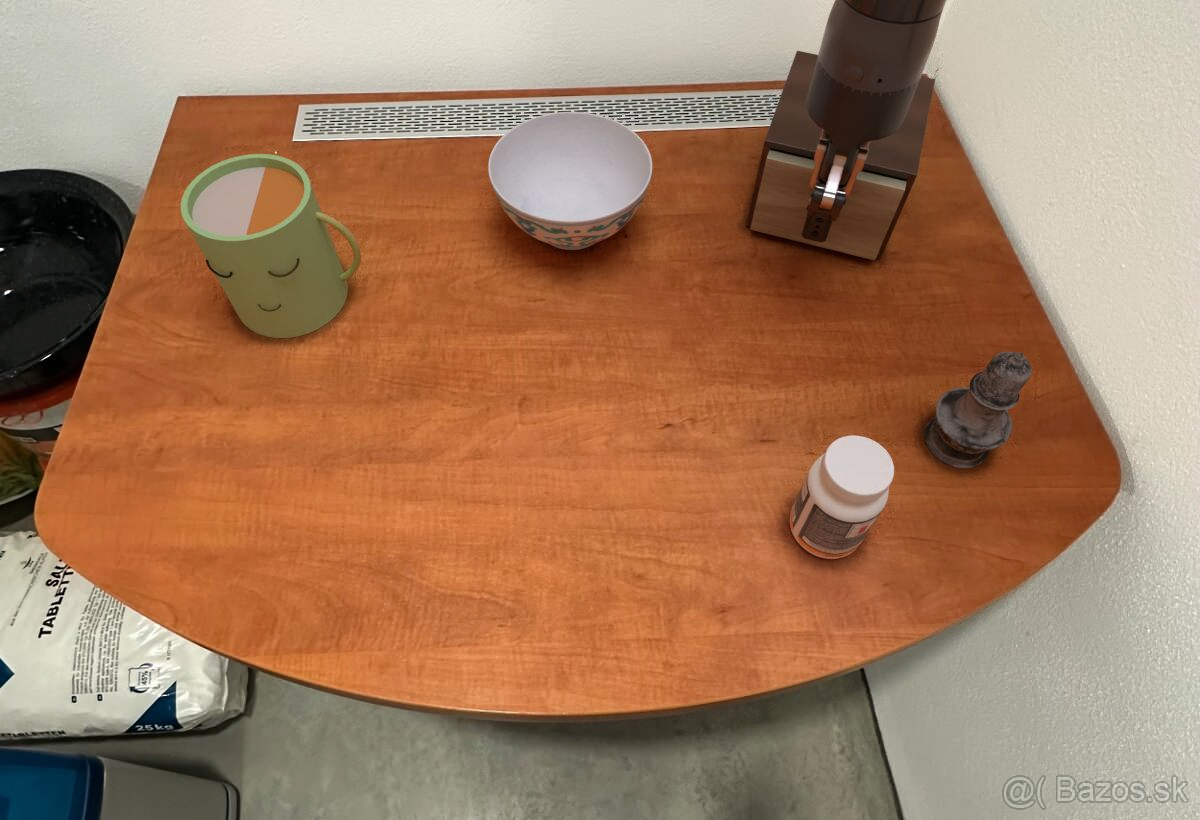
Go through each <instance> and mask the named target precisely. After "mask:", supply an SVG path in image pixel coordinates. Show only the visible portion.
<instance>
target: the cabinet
mask: <svg viewBox="0 0 1200 820" xmlns="http://www.w3.org/2000/svg"><path fill="white" fill-rule="evenodd" d="M817 58H818V54H817V53H812V52H811V53H810V52H805V51H802V50H796V52H795V54H794V58H793V59H792V60H793V61H792V63H791V66H790V68H789V71H788V75H787V78H786V79H785V83H784V86H783V88H782V91H781V93H780V97H779V100H778V103H777V105H776V107H775V110H774V113H773V115H772V116H773V117H772V119H771V122H770V125H769V127H768V130H767V134H766V136H765V137H764V142H763V147H762V152H761V155H760V158H759V159H760V160H759V164H758V169H757V172H756V173H757V174H756V177H755V182H754V187H753V190H752V194H751V195H752V196H751V200H750V204H749V209H748V214H747V217H746V222H745V227H747V228H751V224H752V219H753V215H754V211H755V206H756V202H757V198H758V193H759V189H760V185H761V180H762V176H763V172H764V167H765V163H766V159H767V156H768V153H769V150H772V151H776V152H777V150H781V151H786V152H790V153H794V154H799V155H803V156H807V157H812V158H814V156H815V152H816V149H817V146H818V142H819V139H820V136H821V132H822V129H821V128H820V127H819V126H818V125H816V124H815V123H814V121H813V120H812V119H811V117H810V116H809V113H808V111H807V106H806V101H807V96H808V92H809V88H810V85H811V81H812V77H813V73H814V69H815V65H816V62H817ZM935 83H936V79H935V78H933V77H926V76H923V75H922V76H921V78H920V81H919V83H918V86H917V89H916V91H915V94H914V96H913V99H912V102H911V104H910V107H909V109H908V112H907V115H906V117H905V120H904V122H903V124H902V125H901V127H900V128H899V129H898V130H897V131H896V132H895V133H893V134H892V135H890V136H888V137H886V138H883V139H880V140H874V141H870V144H869V147H868V148H869V152H868V155H867V158H866V161H865V164H864V167H863V169H864V170H868V171H873V172H877V173H881V174H886V175H890V176H894V177H899V178H898V180H902V181H906V187H905V191H904V194H903V196H902V198H901V201H900V203H899V205H898V208H897V210H896V212H895V215H894V217H893V219H892V222H891V224H890V226H889V229H888V231H887V233H886V236H885V238H884V240H883V243H882V245H881V247H880V250H879V252H878V254H877V257H876V259H877V260H881V259H882V257H883V254H884V252H885V250H886V247H887V245H888V243H889V240H890V238H891V236H892V234H893V231H894V229H895V227H896V224H897V222H898V220H899V218H900V216H901V214H902V211H903V208H904V206H905V204H906V202H907V199H908V197H909V194H910V193H911V191H912V188H913V186H914V183H915V181H916V179H917V176H918V172H919V167H920V162H921V157H922V152H923V146H924V142H925V141H924V140H925V137H926V136H925V135H926V130H927V124H928V119H929V115H930V109H931V105H932V98H933V94H934V89H935ZM876 259H875V260H876Z"/></svg>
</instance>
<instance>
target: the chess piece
mask: <svg viewBox="0 0 1200 820" xmlns="http://www.w3.org/2000/svg"><path fill="white" fill-rule="evenodd" d="M1032 373H1033V368H1032V365H1031V363H1030V361H1029V360H1028V359H1027V358H1026V356H1025V354H1024V353H1023V352H1015V351H1002V352H999V353H997V354H995V355H994V356H993V357H992V358H991V360H989V362H988V364H987V365H986V366H985V368H984V369H983V370H982V371H980V372H977V373H976V374H974V375H973V376H972V377H971V378H970V380H969V383H968V385H969V387H965V386H964V387H955V388H952V389H949V390H948V391H946V392H944V393H943V394H942V395H941V396H940V397H939V399H938V400H937V402H936V406H935V416H934V417H933V418H931V419H930V420H929V421H928V422H927V424H926V425H925V429H924V433H923V434H924V435H923V436H924V442H925V445H926V446H927V448H928V450H929V452H930V453H931V454H932V455H933V456H934V457H935V458H936V459H937V460H939V461H940V462H942V463H944V464H945V465H947V466H949V467H953V468H956V469H972V468H976V467H978V466H979V465H981V464H983V463H984V462H985V461H986V459H987V458H988V457H989V455H990V451H991V450H995V449H997V448H1000V447H1001V446H1002V445H1004V444H1005V443H1006V442H1007V441H1008V440H1009V438H1010V437H1011V434H1012V431H1013V423H1012V419H1011V415H1010V413H1009V411H1008V410H1011V409H1013V408H1014V407H1015V406H1016V405H1017V404H1018V403H1019V400H1020V392H1021V390H1022V389H1023V388H1024V386H1025V385H1026V384H1027V383H1028V381H1029V380H1030V379H1031V376H1032Z"/></svg>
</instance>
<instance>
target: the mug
mask: <svg viewBox="0 0 1200 820" xmlns="http://www.w3.org/2000/svg"><path fill="white" fill-rule="evenodd" d="M180 213H181V216H182V219H183V221H184V223H185V225H186V227H187V229H188V231H189V232H190V234H191V235H192V237H193V239H194V240H195V242H196V245H197V246H198V247H199V249H200V251H201V253H202V255H203V256H204V258H205V263H206V266H207V268H208V270H210V271H211V272H212V273H213V274H214V276H215V278H216V280H217V281H218V283H219V285H220V286H221V287H222V290H223V292H224V293H225V295H226V297H227V299H228V300H229V302H230V304H231V306H232V308H233V310H234V311H235V313H236V315H237V316H238V318H239V320H240V321H241V322H242V323H243V325H244V326H245V327H246V328H248V330H250V331H252V332H254V333H255V334H257V335H260V336H263V337H267V338H273V339H290V338H297V337H302V336H304V335H308V334H311V333H313V332H315V331H317V330H319V329H321V328H323V327H324V326H326V325H328V323H330V322H331V321H332V320H333V319H334V318H336V316H337V315H338V314H339V313H340V312H341V310H342V309H343V307H344V306H345V303H346V301H347V298H348V292H349V285H348V280H349V279H350V278H351V277H352V276H353V275H355V273H356V272H357V271H358V269H359V268H360V265H361V262H362V253H361V248H360V246H359V243H358V241H357V239H356V238H355V235H353V233H352V232H351V231H350V230H349V229H348V228H347V227H346V226H345V225H344V224H342V223H341V222H340V221H338V220H337V219H335V218H333V217H331V216H329V215H328V214H326V213H323V212H322V210H321V207H320V204H319V201H318V199H317V196H316V193H315V191H314V188H313V185H312V183H311V180H310V177H309V175H308V173H307V172H306V171H305V169H304V168H303V167H302V166H301V165H300V164H298V163H297V162H296V161H293V160H291V159H289V158H287V157H284V156H281V155H276V154H269V153H252V154H251V153H249V154H243V155H239V156H238V155H237V156H234V157H231V158H227V159H224V160H222V161H220V162H217V163H215V164H213V165H211V166H210V167H207V168H206V169H205V170H203V171H202V172H201V173H199V174H198V175H196V177H194V179H193V180H192V181H191V182H190V183H189V184H188V185H187V187H186V188H185V190H184V192H183V194H182V196H181V201H180ZM327 224H328V225H329V226H331V227H332V228H334V229H336V230H337V231H338V232H339V233H340V234H341V235H342V236H343V237H344V238H345V239H346V241H347V243H349V246H350V247H351V250H352V254H353V259H352V262H351V265H350V267H349V268H348V269H347V270H345V271H344V269H343V266H342V264H341V261H340V258H339V255H338V253H337V250H336V248H335V244H334V242H333V240H332V239H333V238H332V237H331V234H330V231H329V229H328V226H327Z"/></svg>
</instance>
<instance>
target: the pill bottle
mask: <svg viewBox="0 0 1200 820" xmlns="http://www.w3.org/2000/svg"><path fill="white" fill-rule="evenodd" d="M893 461H894V460H893V459H892V456H891V455H890V453H889V452H888V451H887V450H886V448H885V447H883V446H882V445H881V444H880V443H879V442H877V441H875V440H873V439H871V438H869V437H866V436H862V435H854V434H853V435H844V436H841V437H839V438H837V439H835V440H834V441H832V443H830V444H829V446H828V447H827V448H826V450H825V452H824V453H822V455H820V456H819V457H818V458H816V459H815V461H813V463H812V465H811V466H810V469H809V470H808V472H807V475H806V476H805V478H804V481H803V483H802V485H801V488H800V490H799V492H798V494H797V496H796V498H795V501H794V502H793V504H792V507H791V509H790V514H789V526H790V531H791V533H792V536H793V537H794V539H795V541H796V542H797V543H798V544H799V546H800V547H801V548H803V549H804V550H805V551H806V552H808V553H810V554H811V555H813V556H815V557H818V558H822V559H825V560H837V559H842V558H845V557H847V556H849V555H851V554H852V553H854V552H855V551H856V550H857V548H859V546H860V545H861V544H862V542H863V541H864V540H865V538H866V536H867V535H868V533H869V531H870V530H871V528H872V527H873V526H874V524H875V522H876V521H877V520H878V518H879V516H880V515H881V513H882V512H883V511H884V510H885V507H886V505H887V502H888V499H889V495H890V493H889V492H890V486H891V484H892V482H893V480H894V477H895V465H894V462H893Z"/></svg>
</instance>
